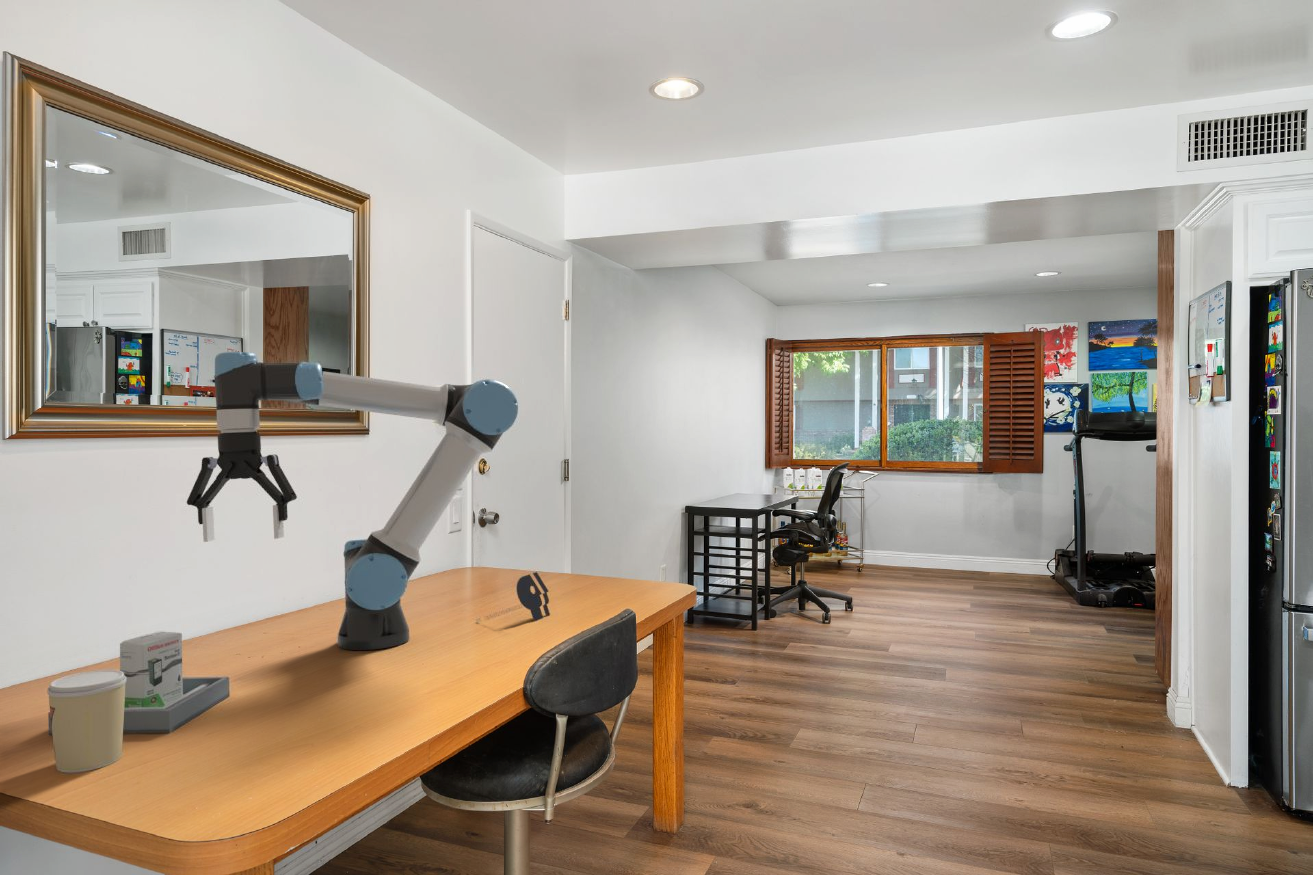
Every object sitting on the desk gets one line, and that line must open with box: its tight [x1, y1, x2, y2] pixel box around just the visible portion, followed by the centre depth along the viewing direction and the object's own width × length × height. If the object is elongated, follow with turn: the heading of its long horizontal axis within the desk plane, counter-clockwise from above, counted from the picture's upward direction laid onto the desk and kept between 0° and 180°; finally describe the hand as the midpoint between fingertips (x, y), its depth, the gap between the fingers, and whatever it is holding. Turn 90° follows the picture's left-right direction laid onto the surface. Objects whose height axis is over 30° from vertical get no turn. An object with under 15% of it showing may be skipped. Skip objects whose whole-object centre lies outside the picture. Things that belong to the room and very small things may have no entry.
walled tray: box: [48, 676, 230, 736], centre depth 139 cm, size 19×18×4 cm
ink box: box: [119, 631, 183, 708], centre depth 141 cm, size 9×5×12 cm, turn 167°
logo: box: [475, 571, 551, 623], centre depth 205 cm, size 17×18×11 cm
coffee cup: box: [46, 669, 126, 774], centre depth 119 cm, size 9×9×12 cm
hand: (244, 539), depth 163 cm, fingers open, 13 cm apart
